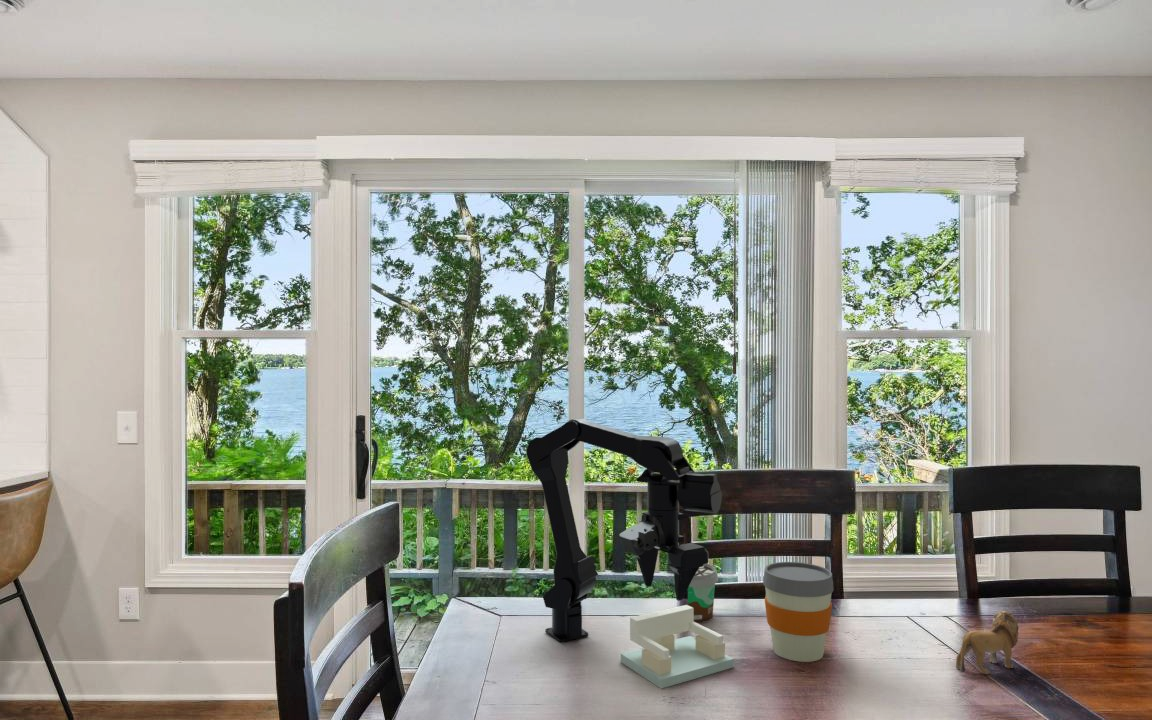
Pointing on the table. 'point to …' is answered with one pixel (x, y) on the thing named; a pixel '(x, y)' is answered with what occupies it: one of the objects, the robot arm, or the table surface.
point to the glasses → (667, 628)
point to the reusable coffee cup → (798, 609)
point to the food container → (703, 593)
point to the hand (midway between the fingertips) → (663, 593)
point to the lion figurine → (991, 641)
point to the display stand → (679, 660)
